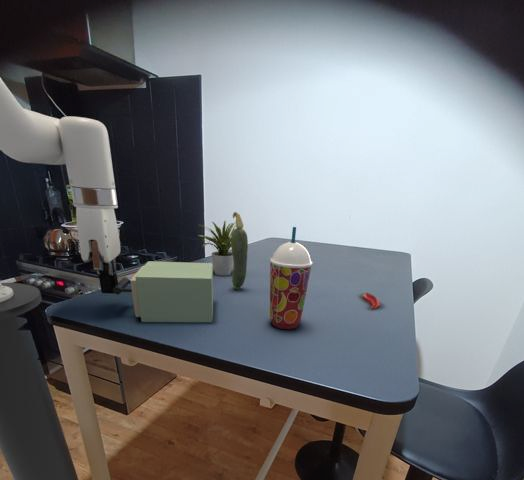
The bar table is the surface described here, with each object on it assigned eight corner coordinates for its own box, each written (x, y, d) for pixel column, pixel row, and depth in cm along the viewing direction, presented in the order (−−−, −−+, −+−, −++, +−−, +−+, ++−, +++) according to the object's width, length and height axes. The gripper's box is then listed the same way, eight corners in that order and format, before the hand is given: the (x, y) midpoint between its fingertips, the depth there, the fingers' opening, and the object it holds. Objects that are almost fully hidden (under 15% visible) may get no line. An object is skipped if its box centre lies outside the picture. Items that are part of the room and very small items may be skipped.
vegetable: (248, 289, 89) (251, 212, 79) (241, 293, 86) (243, 213, 76) (235, 286, 91) (236, 210, 81) (227, 290, 87) (227, 211, 77)
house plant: (213, 264, 111) (212, 214, 103) (250, 270, 107) (252, 218, 100) (193, 274, 99) (190, 218, 91) (233, 280, 95) (234, 223, 88)
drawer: (113, 316, 65) (107, 279, 61) (127, 298, 75) (122, 265, 71) (201, 317, 68) (200, 281, 64) (203, 299, 77) (202, 267, 74)
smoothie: (276, 313, 74) (283, 222, 65) (309, 322, 71) (322, 227, 61) (258, 325, 68) (264, 226, 58) (294, 335, 64) (307, 232, 55)
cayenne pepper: (379, 310, 80) (381, 303, 79) (361, 307, 81) (362, 300, 80) (379, 296, 90) (381, 290, 89) (362, 294, 91) (364, 287, 91)
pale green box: (141, 322, 66) (135, 276, 61) (152, 301, 77) (147, 261, 72) (212, 322, 68) (211, 278, 63) (213, 301, 79) (212, 263, 74)
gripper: (88, 194, 66) (103, 281, 74) (55, 199, 53) (78, 304, 61) (126, 197, 67) (136, 282, 75) (103, 203, 54) (119, 305, 62)
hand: (110, 291), depth 68 cm, fingers closed
